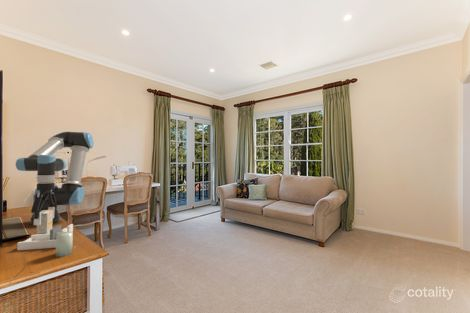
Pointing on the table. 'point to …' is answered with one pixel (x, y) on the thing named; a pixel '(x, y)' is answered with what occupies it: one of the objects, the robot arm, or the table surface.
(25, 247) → the white open tray
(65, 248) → the sage jar
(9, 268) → the table surface
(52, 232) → the pusher
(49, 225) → the supplement box
